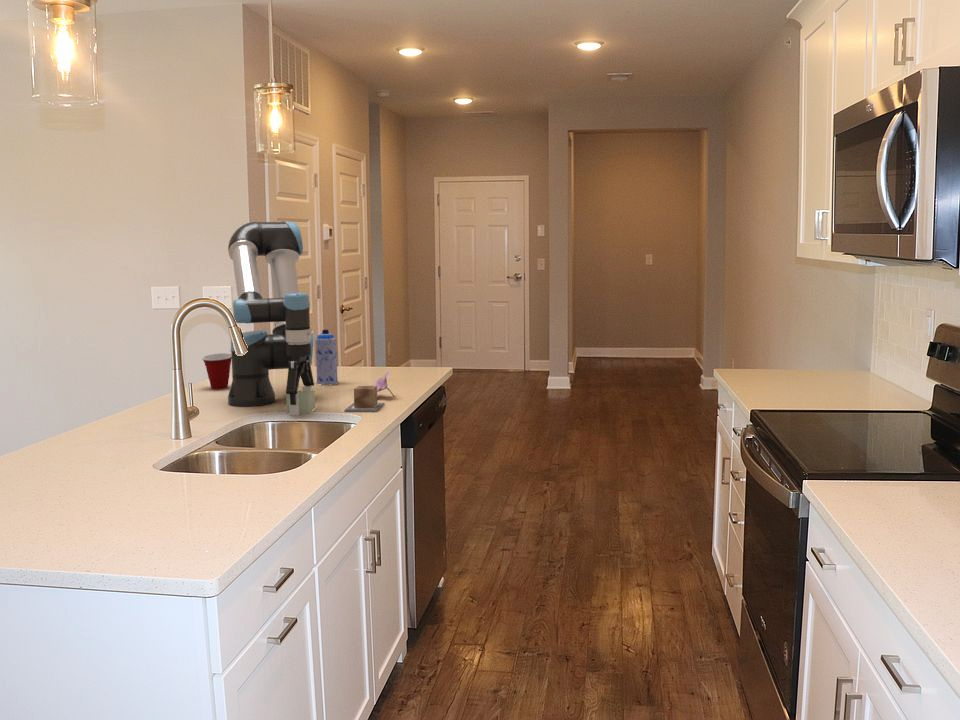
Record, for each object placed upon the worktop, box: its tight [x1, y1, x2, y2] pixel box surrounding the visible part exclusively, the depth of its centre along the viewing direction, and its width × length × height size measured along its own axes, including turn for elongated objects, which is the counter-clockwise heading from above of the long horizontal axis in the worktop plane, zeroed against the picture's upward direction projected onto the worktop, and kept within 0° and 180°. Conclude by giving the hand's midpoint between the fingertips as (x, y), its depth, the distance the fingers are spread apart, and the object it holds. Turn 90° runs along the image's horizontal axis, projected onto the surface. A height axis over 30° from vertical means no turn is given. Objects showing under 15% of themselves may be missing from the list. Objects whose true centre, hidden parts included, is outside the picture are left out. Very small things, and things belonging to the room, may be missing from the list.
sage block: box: [285, 390, 316, 415], centre depth 277 cm, size 7×7×6 cm
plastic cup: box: [201, 352, 232, 390], centre depth 320 cm, size 11×11×12 cm
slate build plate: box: [344, 402, 385, 413], centre depth 281 cm, size 10×12×1 cm
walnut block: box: [353, 385, 378, 408], centre depth 280 cm, size 6×6×6 cm
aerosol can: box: [314, 328, 339, 386], centre depth 327 cm, size 8×8×20 cm
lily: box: [374, 369, 395, 398], centre depth 298 cm, size 12×12×10 cm
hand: (301, 410), depth 277 cm, fingers open, 13 cm apart
